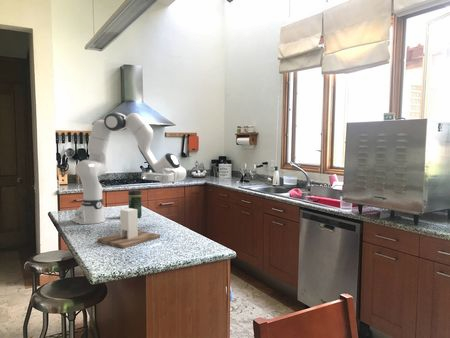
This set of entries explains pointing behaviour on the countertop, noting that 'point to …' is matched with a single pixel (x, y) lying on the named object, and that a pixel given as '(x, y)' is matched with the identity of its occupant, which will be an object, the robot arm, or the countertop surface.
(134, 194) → the coffee jar
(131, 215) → the housing
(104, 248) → the countertop surface
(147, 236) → the stub board
